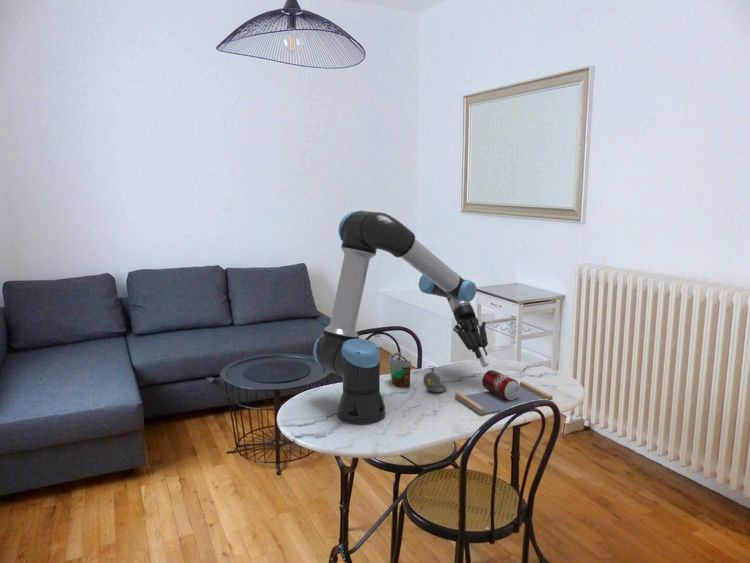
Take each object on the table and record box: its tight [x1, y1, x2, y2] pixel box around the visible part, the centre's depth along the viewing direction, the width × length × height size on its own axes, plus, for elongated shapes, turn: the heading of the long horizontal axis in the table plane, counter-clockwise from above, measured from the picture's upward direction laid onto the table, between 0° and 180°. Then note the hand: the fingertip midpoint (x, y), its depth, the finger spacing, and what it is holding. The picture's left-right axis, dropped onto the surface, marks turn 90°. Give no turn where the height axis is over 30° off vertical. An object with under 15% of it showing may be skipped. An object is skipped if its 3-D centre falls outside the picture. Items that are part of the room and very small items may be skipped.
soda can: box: [481, 369, 520, 400], centre depth 194 cm, size 7×7×12 cm
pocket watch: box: [422, 365, 447, 394], centre depth 199 cm, size 8×8×10 cm
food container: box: [388, 352, 412, 388], centre depth 207 cm, size 12×6×10 cm, turn 17°
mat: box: [454, 380, 553, 417], centre depth 191 cm, size 28×16×2 cm, turn 112°
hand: (485, 365), depth 199 cm, fingers closed
